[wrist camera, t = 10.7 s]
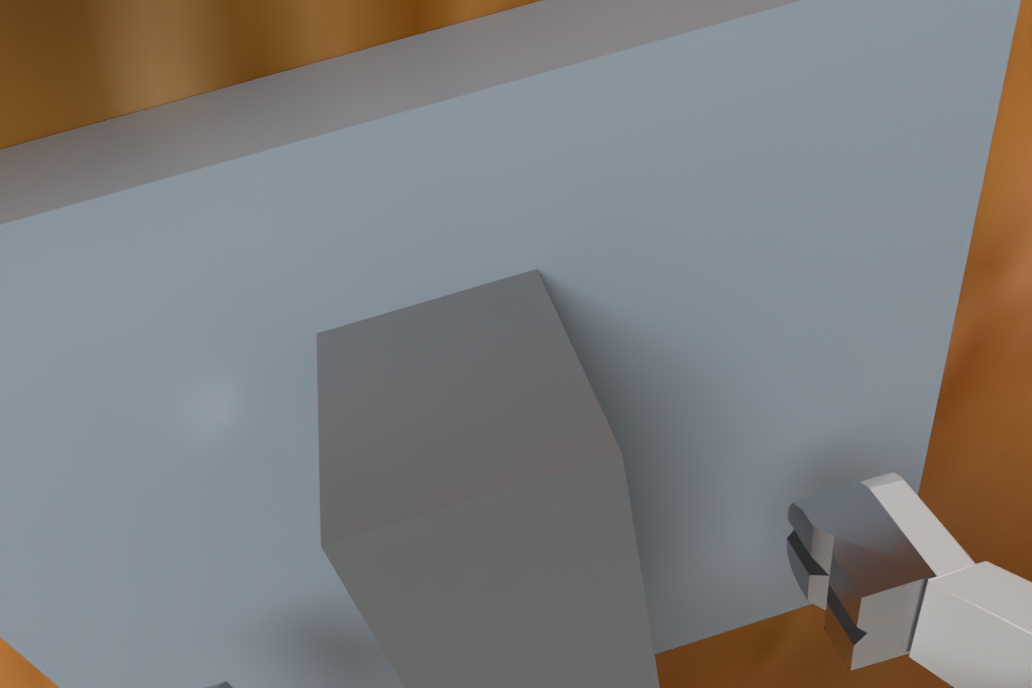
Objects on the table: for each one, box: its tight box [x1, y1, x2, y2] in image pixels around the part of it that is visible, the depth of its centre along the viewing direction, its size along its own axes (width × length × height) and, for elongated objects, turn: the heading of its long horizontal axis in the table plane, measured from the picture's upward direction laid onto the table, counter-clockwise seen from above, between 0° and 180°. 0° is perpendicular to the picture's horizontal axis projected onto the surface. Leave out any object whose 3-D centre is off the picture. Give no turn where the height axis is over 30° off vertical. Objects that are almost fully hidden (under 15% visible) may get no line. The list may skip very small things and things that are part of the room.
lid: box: [0, 0, 1021, 688], centre depth 12 cm, size 16×13×6 cm
